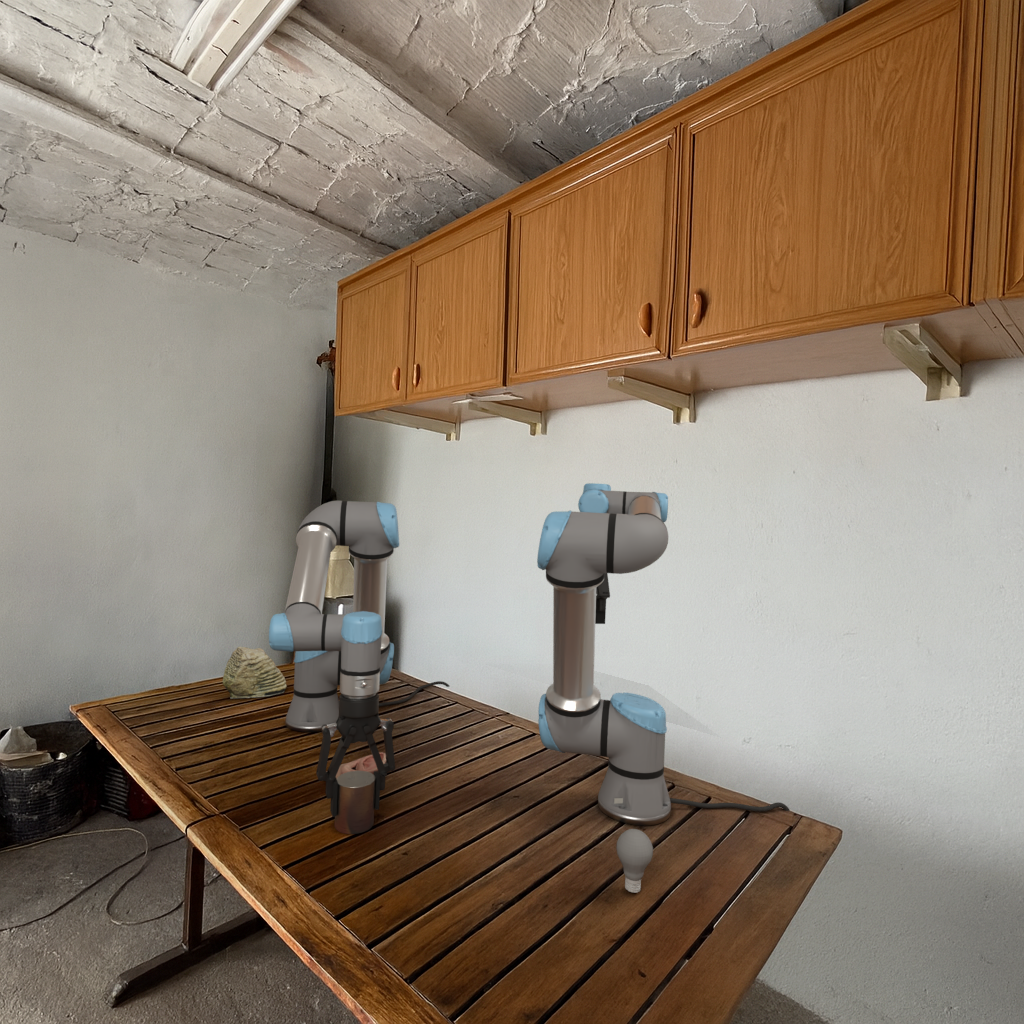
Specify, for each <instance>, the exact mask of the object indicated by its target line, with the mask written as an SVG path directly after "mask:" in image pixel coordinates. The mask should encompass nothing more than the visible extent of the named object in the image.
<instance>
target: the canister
mask: <svg viewBox="0 0 1024 1024" xmlns="http://www.w3.org/2000/svg"><path fill="white" fill-rule="evenodd" d="M337 781H338V794H337V816H336V817H334V829H335V830H336V831H337V832H339V833H341V834H344V835H345V834H346V835H356V834H361V833H365V832H367V831H369V830H370V829H371V828H372V827H373V826H374V824H375V808H374V803H375V775H374V774H372V773H370V772H367V771H350V772H346V773H344V774H341V775H340V776H339V777H338V778H337Z"/></svg>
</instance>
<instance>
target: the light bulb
mask: <svg viewBox="0 0 1024 1024" xmlns="http://www.w3.org/2000/svg"><path fill="white" fill-rule="evenodd" d="M615 849H616V854H617V857H618V859H619V861H620V863H621V865H622V867H623V873H624V874H623V875H624V876H625V878H624V888H625V890H627V891H628V892H630V893H634V894H635V893H639V892H640V891H641V889H642V887H641V886H642V879H643V877H644V875H645V871H646V868H647V867H648V866H649V864H650V863H651V861H652V859H653V855H654V847H653V843H652V841H651V838H649V836H648V835H647V834H646V833H645V832H643V831H642V830H641V829H636V828H629V829H627V830H625V831H623V832H622V833H621V834H620V835H619V837H618V839H617V841H616V847H615Z"/></svg>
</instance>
